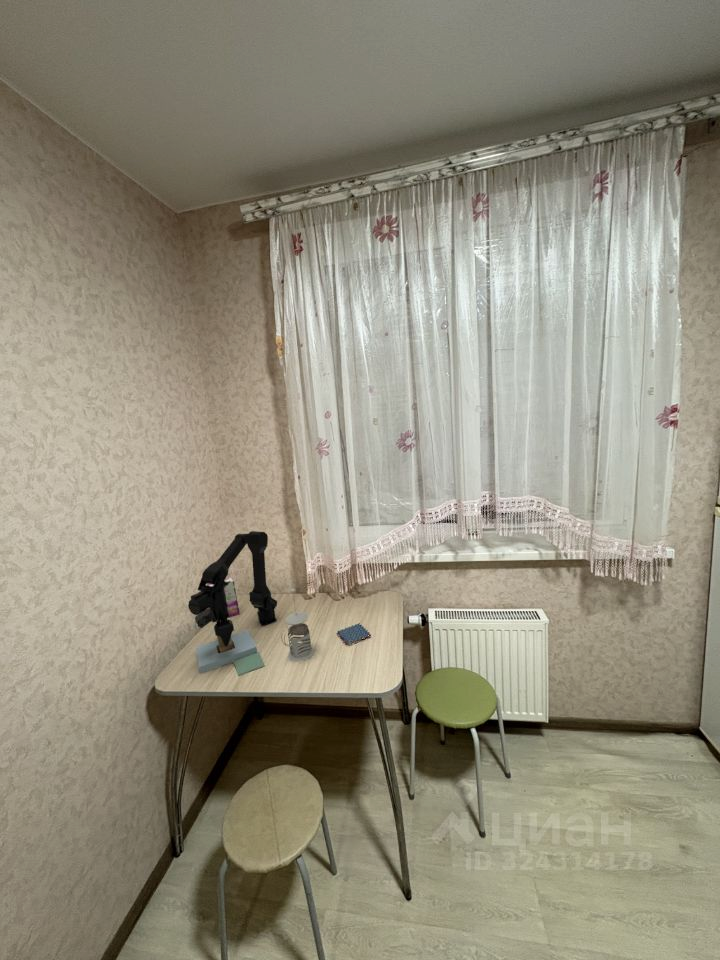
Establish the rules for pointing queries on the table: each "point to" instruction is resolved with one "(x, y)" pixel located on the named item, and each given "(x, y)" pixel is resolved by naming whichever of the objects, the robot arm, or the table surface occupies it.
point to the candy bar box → (230, 597)
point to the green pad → (249, 663)
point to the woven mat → (353, 634)
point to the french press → (298, 628)
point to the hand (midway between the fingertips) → (224, 639)
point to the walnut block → (222, 647)
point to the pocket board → (212, 659)
